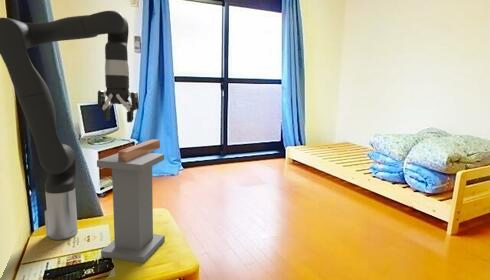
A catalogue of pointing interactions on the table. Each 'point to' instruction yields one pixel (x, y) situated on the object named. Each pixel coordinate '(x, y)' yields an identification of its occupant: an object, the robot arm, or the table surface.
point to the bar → (138, 150)
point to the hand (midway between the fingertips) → (118, 121)
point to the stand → (132, 208)
